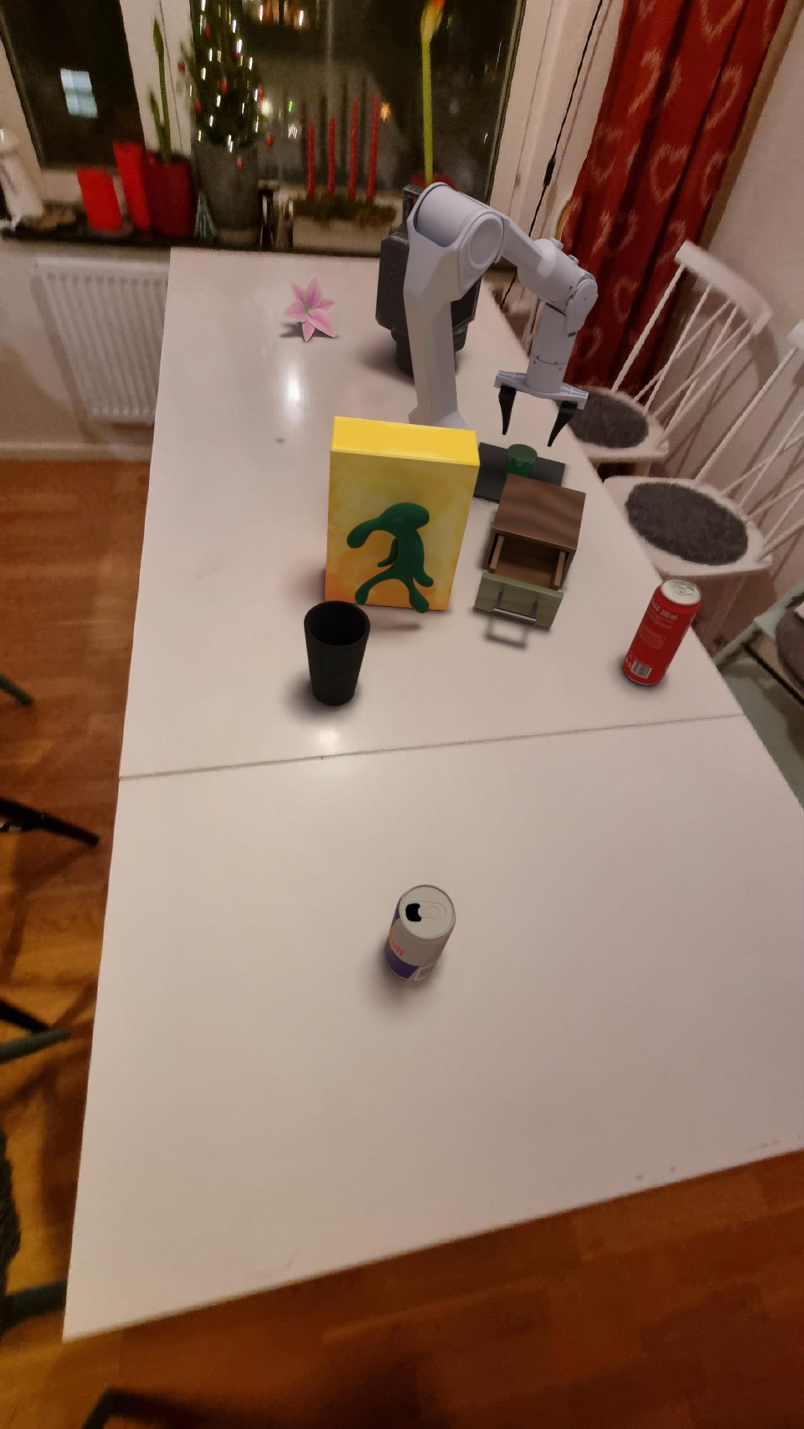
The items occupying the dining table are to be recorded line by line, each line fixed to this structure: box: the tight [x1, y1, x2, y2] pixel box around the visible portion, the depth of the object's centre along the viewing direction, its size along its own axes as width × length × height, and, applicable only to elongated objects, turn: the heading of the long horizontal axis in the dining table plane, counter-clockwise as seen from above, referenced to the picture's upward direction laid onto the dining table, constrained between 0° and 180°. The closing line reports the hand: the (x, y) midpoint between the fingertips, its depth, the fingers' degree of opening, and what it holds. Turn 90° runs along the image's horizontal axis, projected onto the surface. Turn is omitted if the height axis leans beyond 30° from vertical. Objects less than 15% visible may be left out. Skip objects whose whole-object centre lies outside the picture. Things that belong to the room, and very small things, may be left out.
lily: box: [282, 271, 337, 342], centre depth 144 cm, size 12×12×10 cm
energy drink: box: [383, 883, 457, 983], centre depth 65 cm, size 5×5×12 cm
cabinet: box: [481, 473, 587, 589], centre depth 108 cm, size 15×13×8 cm
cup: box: [303, 600, 372, 707], centre depth 84 cm, size 8×8×12 cm
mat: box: [473, 441, 567, 504], centre depth 122 cm, size 16×16×1 cm
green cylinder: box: [503, 443, 539, 479], centre depth 120 cm, size 5×5×5 cm
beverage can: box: [622, 576, 702, 686], centre depth 91 cm, size 6×6×15 cm
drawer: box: [473, 534, 566, 628], centre depth 100 cm, size 18×11×6 cm, turn 165°
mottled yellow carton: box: [324, 415, 480, 614], centre depth 90 cm, size 18×12×24 cm
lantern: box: [374, 183, 484, 378], centre depth 131 cm, size 15×18×30 cm
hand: (527, 438), depth 115 cm, fingers open, 7 cm apart
